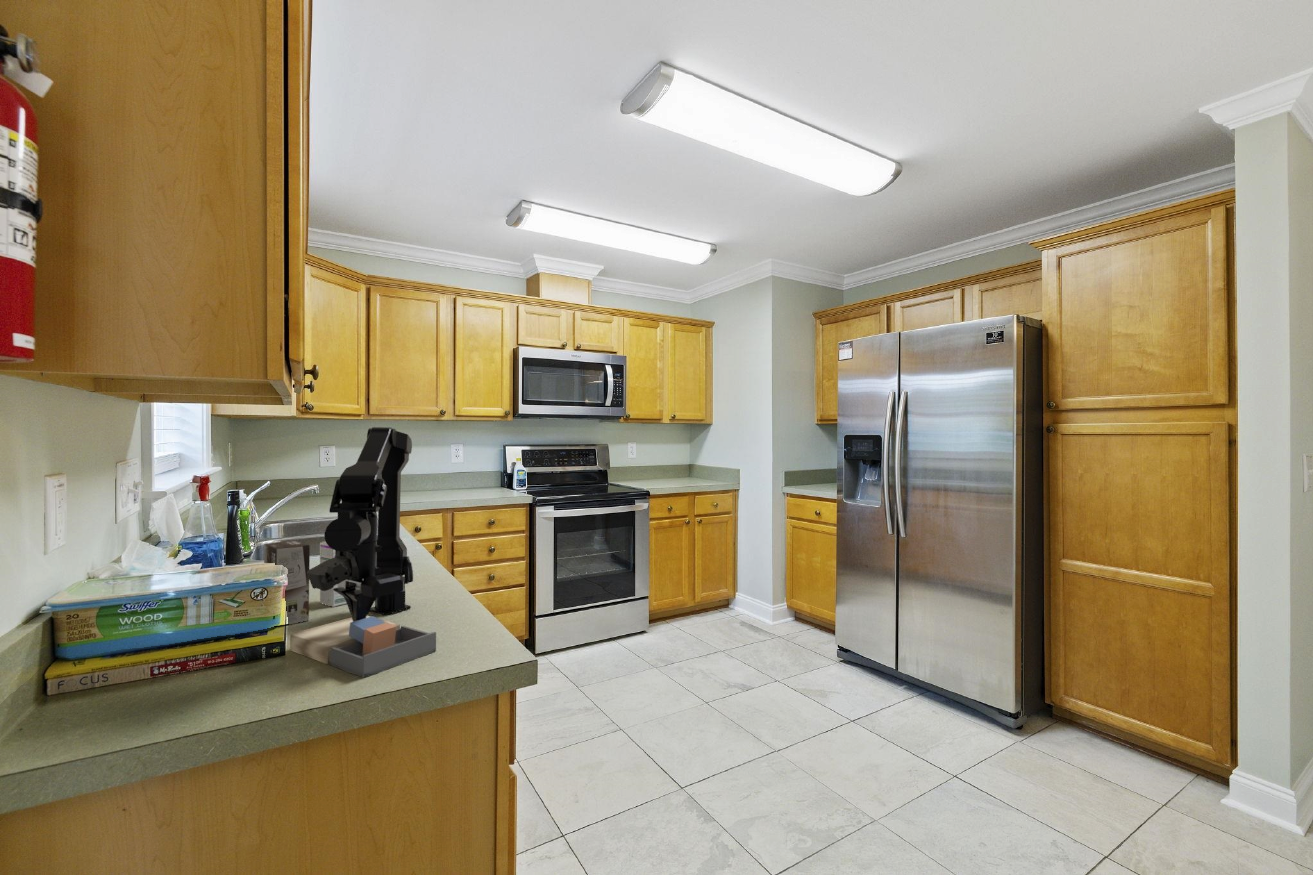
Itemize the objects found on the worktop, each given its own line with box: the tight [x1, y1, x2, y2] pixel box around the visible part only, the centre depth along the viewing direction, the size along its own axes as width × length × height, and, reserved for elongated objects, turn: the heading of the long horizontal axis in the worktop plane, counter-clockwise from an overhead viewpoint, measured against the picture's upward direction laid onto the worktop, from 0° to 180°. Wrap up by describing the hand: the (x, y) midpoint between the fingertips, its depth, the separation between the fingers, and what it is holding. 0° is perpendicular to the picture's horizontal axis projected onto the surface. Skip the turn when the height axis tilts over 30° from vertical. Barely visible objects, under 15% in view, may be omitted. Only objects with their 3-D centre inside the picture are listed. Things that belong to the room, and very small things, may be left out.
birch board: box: [289, 615, 401, 665], centre depth 111 cm, size 12×14×3 cm
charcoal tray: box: [328, 625, 437, 678], centre depth 105 cm, size 10×14×4 cm
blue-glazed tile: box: [349, 615, 386, 644], centre depth 107 cm, size 4×4×2 cm
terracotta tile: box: [362, 621, 396, 655], centre depth 105 cm, size 4×4×2 cm
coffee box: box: [263, 539, 311, 625], centre depth 125 cm, size 9×6×16 cm
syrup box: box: [319, 541, 347, 608], centre depth 138 cm, size 6×6×14 cm
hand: (358, 626), depth 108 cm, fingers closed
